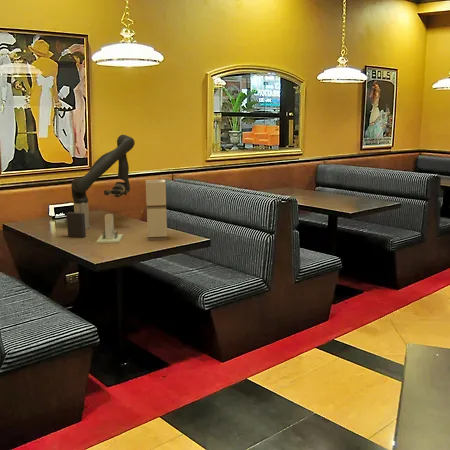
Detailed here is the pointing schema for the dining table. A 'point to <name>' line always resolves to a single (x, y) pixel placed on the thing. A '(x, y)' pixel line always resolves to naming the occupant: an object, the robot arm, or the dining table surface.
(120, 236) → the pin tray
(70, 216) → the dark brown upright block
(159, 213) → the beige rectangular tower
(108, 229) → the block
